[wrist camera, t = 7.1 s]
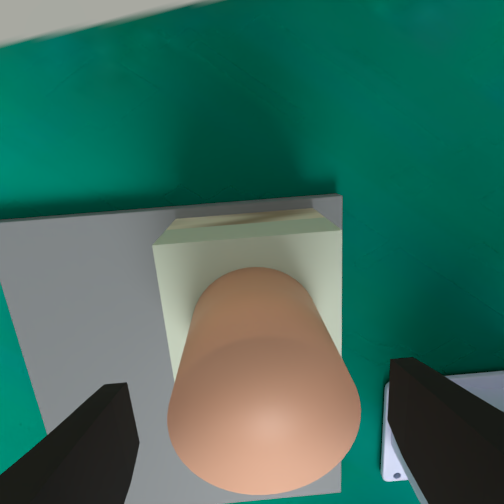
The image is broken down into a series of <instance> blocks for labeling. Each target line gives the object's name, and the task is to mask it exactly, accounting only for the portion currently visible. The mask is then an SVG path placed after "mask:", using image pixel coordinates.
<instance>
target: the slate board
mask: <svg viewBox="0 0 504 504" xmlns="http://www.w3.org/2000/svg"><path fill="white" fill-rule="evenodd" d="M307 208H314V209H315V210H316V211H318V212H319V213H320V214H321V215H323V216H324V217H325V218H327V219H328V220H329V221H331V222H332V223H333V224H335V225H336V226H337V227H339V228H340V229H341V230H342V196H341V195H339V194H324V195H311V196H299V197H286V198H273V199H260V200H247V201H235V202H222V203H209V204H196V205H183V206H171V207H158V208H145V209H132V210H119V211H107V212H94V213H81V214H68V215H56V216H43V217H30V218H17V219H4V220H0V282H1V285H2V288H3V292H4V295H5V298H6V301H7V305H8V308H9V311H10V314H11V318H12V321H13V324H14V327H15V331H16V334H17V337H18V340H19V344H20V347H21V350H22V354H23V357H24V360H25V363H26V367H27V370H28V373H29V376H30V380H31V383H32V386H33V389H34V393H35V396H36V399H37V402H38V406H39V409H40V412H41V415H42V419H43V422H44V425H45V428H46V432H47V435H48V434H49V433H50V432H51V431H53V430H54V429H55V428H56V427H57V426H58V425H59V424H60V423H61V422H63V421H64V420H65V419H66V418H67V417H68V416H69V415H70V414H71V413H73V412H74V411H75V410H76V409H77V408H78V407H79V406H80V405H81V404H82V403H84V402H85V401H86V400H87V399H88V398H89V397H90V396H91V395H92V394H94V393H95V392H96V391H97V390H98V389H99V388H101V387H102V386H103V385H104V384H113V383H124V382H127V384H128V389H129V394H130V399H131V403H132V408H133V413H134V418H135V422H136V427H137V432H138V437H139V441H140V444H139V449H138V453H137V458H136V463H135V467H134V472H133V476H132V480H131V484H130V487H129V490H128V493H127V496H126V499H125V502H124V504H223V503H234V502H244V501H255V500H265V499H276V498H286V497H297V496H307V495H318V494H328V493H339V492H341V461H340V462H339V463H338V464H337V465H336V466H335V467H334V468H333V469H332V470H331V471H329V472H328V473H327V474H325V475H324V476H322V477H321V478H319V479H318V480H316V481H314V482H312V483H310V484H308V485H306V486H303V487H301V488H298V489H295V490H292V491H288V492H284V493H278V494H270V495H248V494H240V493H235V492H231V491H227V490H224V489H221V488H218V487H216V486H214V485H212V484H210V483H208V482H206V481H204V480H203V479H201V478H200V477H198V476H197V475H196V474H194V473H193V472H192V471H191V470H190V469H189V468H188V467H187V466H186V465H185V464H184V463H183V462H182V460H181V459H180V458H179V456H178V455H177V453H176V451H175V449H174V447H173V446H172V443H171V440H170V437H169V433H168V426H167V413H168V407H169V402H170V398H171V394H172V390H173V387H174V377H173V371H172V365H171V358H170V352H169V346H168V340H167V334H166V328H165V322H164V316H163V309H162V303H161V297H160V291H159V285H158V279H157V273H156V267H155V261H154V254H153V248H152V245H153V244H154V243H155V242H156V240H157V239H158V238H159V237H160V236H161V235H162V234H163V233H164V231H165V230H166V229H167V228H168V227H169V226H170V225H171V224H172V222H173V221H174V220H175V219H181V218H193V217H206V216H219V215H231V214H244V213H257V212H269V211H282V210H295V209H307ZM341 358H342V342H341Z"/></svg>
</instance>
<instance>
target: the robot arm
mask: <svg viewBox="0 0 504 504" xmlns="http://www.w3.org/2000/svg"><path fill="white" fill-rule="evenodd" d="M139 444H140V441H139V437H138V432H137V427H136V422H135V418H134V413H133V408H132V403H131V399H130V394H129V389H128V384H127V382H124V383H113V384H104V385H103V386H102V387H101V388H99V389H98V390H97V391H96V392H95V393H94V394H92V395H91V396H90V397H89V398H88V399H87V400H86V401H85V402H84V403H82V404H81V405H80V406H79V407H78V408H77V409H76V410H75V411H74V412H73V413H71V414H70V415H69V416H68V417H67V418H66V419H65V420H64V421H63V422H61V423H60V424H59V425H58V426H57V427H56V428H55V429H54V430H53V431H51V432H50V433H49V434H48V435H47V436H46V437H45V438H44V439H42V440H41V441H40V442H39V443H38V444H37V445H36V446H35V447H33V448H32V449H31V450H30V451H29V452H27V453H26V454H25V455H24V456H23V457H21V458H20V459H19V460H18V461H17V462H15V463H14V464H13V465H12V466H11V467H9V468H8V469H7V470H6V471H5V472H3V473H2V474H1V475H0V504H124V502H125V499H126V496H127V493H128V490H129V487H130V484H131V480H132V476H133V472H134V467H135V463H136V458H137V453H138V449H139ZM381 476H382V478H383V479H384V480H385V481H399V480H409V482H410V484H411V486H412V488H413V490H414V492H415V493H416V495H417V497H418V499H419V501H420V503H421V504H504V371H495V372H484V373H472V374H461V375H450V376H443V375H442V374H440V373H438V372H437V371H435V370H434V369H432V368H430V367H429V366H427V365H425V364H424V363H422V362H420V361H418V360H417V359H415V358H413V357H410V358H399V359H390V378H389V382H388V383H387V384H386V385H385V393H384V413H383V434H382V454H381Z"/></svg>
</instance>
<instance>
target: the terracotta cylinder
mask: <svg viewBox="0 0 504 504" xmlns="http://www.w3.org/2000/svg"><path fill="white" fill-rule="evenodd" d="M360 420H361V405H360V398H359V395H358V391H357V388H356V386H355V384H354V382H353V380H352V378H351V376H350V374H349V372H348V370H347V368H346V366H345V364H344V362H343V360H342V358H341V356H340V354H339V352H338V350H337V348H336V346H335V344H334V342H333V340H332V338H331V336H330V334H329V332H328V330H327V328H326V326H325V324H324V322H323V320H322V318H321V316H320V314H319V312H318V310H317V308H316V306H315V304H314V302H313V300H312V298H311V296H310V295H309V293H308V292H307V290H306V289H305V288H304V287H303V286H302V285H301V284H300V283H299V282H298V281H297V280H296V279H294V278H292V277H291V276H289V275H288V274H285V273H283V272H281V271H278V270H275V269H271V268H265V267H247V268H242V269H238V270H235V271H232V272H229V273H227V274H225V275H223V276H221V277H220V278H218V279H217V280H215V281H214V282H213V283H212V284H210V285H209V286H208V287H207V289H206V290H205V291H204V292H203V293H202V295H201V296H200V298H199V300H198V302H197V304H196V306H195V309H194V312H193V316H192V320H191V323H190V327H189V331H188V335H187V338H186V342H185V346H184V350H183V353H182V357H181V361H180V364H179V368H178V372H177V376H176V379H175V383H174V387H173V390H172V394H171V398H170V402H169V407H168V413H167V426H168V433H169V437H170V440H171V443H172V446H173V447H174V449H175V451H176V453H177V455H178V456H179V458H180V459H181V460H182V462H183V463H184V464H185V465H186V466H187V467H188V468H189V469H190V470H191V471H192V472H193V473H194V474H196V475H197V476H198V477H200V478H201V479H203V480H204V481H206V482H208V483H210V484H212V485H214V486H216V487H218V488H221V489H224V490H227V491H231V492H235V493H240V494H248V495H270V494H278V493H284V492H288V491H292V490H295V489H298V488H301V487H303V486H306V485H308V484H310V483H312V482H314V481H316V480H318V479H319V478H321V477H322V476H324V475H325V474H327V473H328V472H329V471H331V470H332V469H333V468H334V467H335V466H336V465H337V464H338V463H339V462H340V461H341V460H342V459H343V458H344V457H345V455H346V454H347V452H348V451H349V450H350V448H351V446H352V444H353V442H354V440H355V438H356V435H357V433H358V430H359V425H360Z"/></svg>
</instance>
